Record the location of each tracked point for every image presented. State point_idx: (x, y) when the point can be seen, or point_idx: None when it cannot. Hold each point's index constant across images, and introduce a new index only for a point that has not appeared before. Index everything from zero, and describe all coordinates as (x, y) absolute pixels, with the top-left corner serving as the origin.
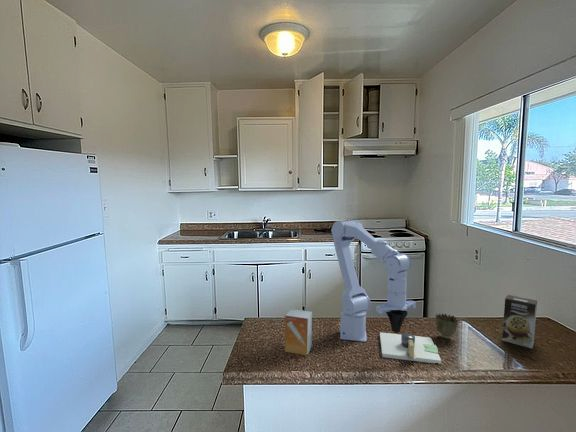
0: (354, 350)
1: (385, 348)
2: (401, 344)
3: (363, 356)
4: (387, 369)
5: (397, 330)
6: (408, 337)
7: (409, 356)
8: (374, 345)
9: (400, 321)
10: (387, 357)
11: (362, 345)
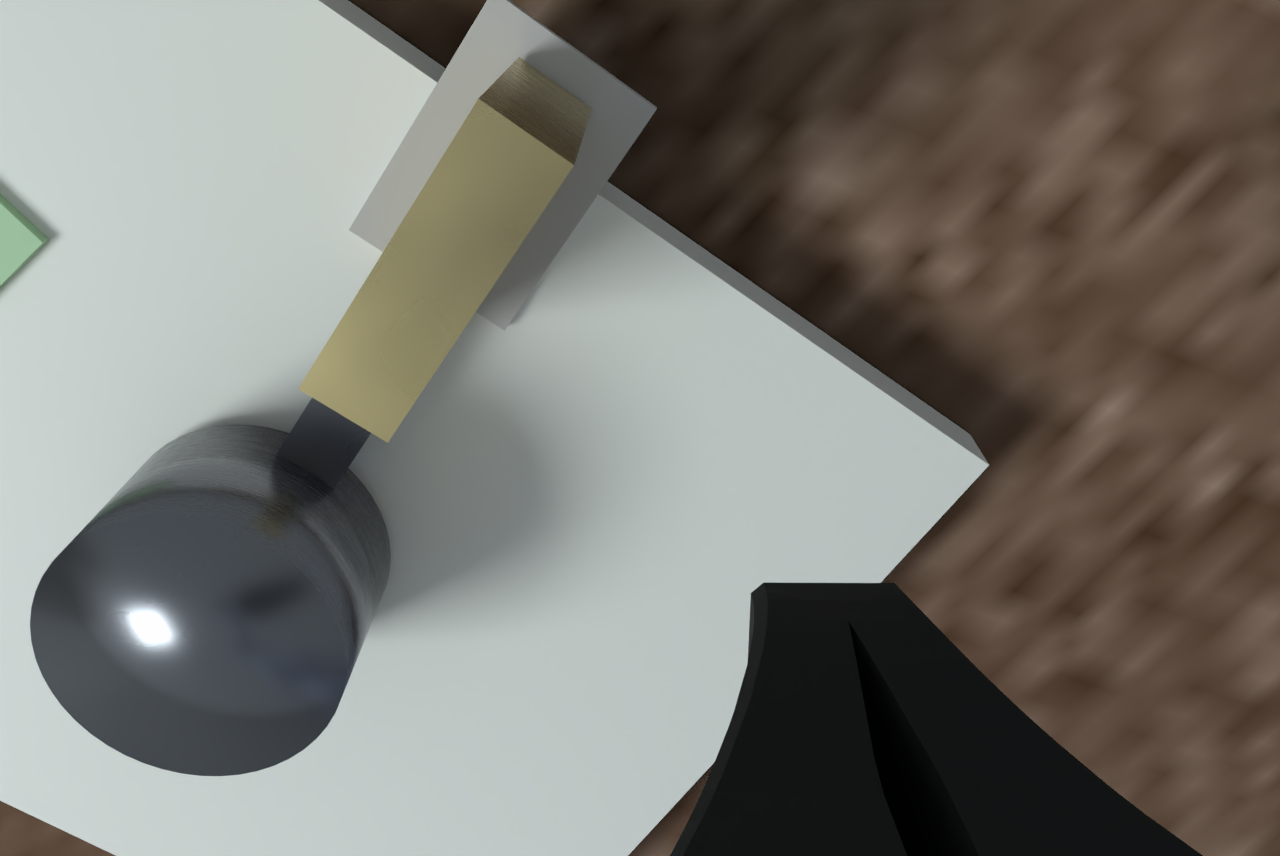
0: (1241, 758)
1: None
2: None
3: (1262, 564)
4: (1235, 33)
5: (889, 614)
6: (228, 600)
7: None
8: None
9: (890, 850)
10: (896, 383)
11: None
